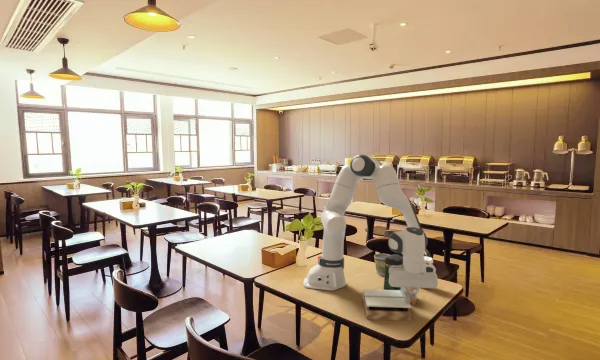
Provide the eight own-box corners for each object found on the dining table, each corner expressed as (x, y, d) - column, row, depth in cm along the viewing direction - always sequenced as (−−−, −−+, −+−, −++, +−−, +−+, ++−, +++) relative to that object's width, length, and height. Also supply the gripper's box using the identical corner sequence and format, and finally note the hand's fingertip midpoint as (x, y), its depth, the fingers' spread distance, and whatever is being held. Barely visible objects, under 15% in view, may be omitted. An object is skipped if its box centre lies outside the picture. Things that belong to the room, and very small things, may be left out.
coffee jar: (395, 297, 162) (396, 259, 160) (381, 292, 168) (381, 256, 166) (405, 291, 169) (406, 255, 167) (391, 286, 175) (391, 251, 173)
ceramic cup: (371, 274, 191) (371, 257, 190) (377, 269, 200) (377, 252, 199) (394, 279, 185) (394, 261, 184) (399, 273, 193) (399, 256, 192)
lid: (366, 306, 142) (366, 297, 141) (363, 290, 157) (363, 282, 157) (410, 307, 140) (411, 299, 140) (402, 292, 156) (403, 284, 155)
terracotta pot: (405, 304, 155) (405, 291, 155) (402, 298, 161) (403, 286, 161) (418, 304, 155) (418, 292, 154) (415, 299, 161) (415, 286, 160)
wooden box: (366, 318, 142) (366, 307, 142) (363, 301, 158) (363, 291, 157) (410, 320, 140) (411, 309, 140) (402, 303, 156) (402, 292, 156)
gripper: (390, 267, 144) (389, 298, 145) (439, 269, 142) (438, 300, 144) (387, 262, 150) (386, 292, 152) (435, 263, 148) (433, 294, 150)
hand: (412, 296), depth 148 cm, fingers closed
